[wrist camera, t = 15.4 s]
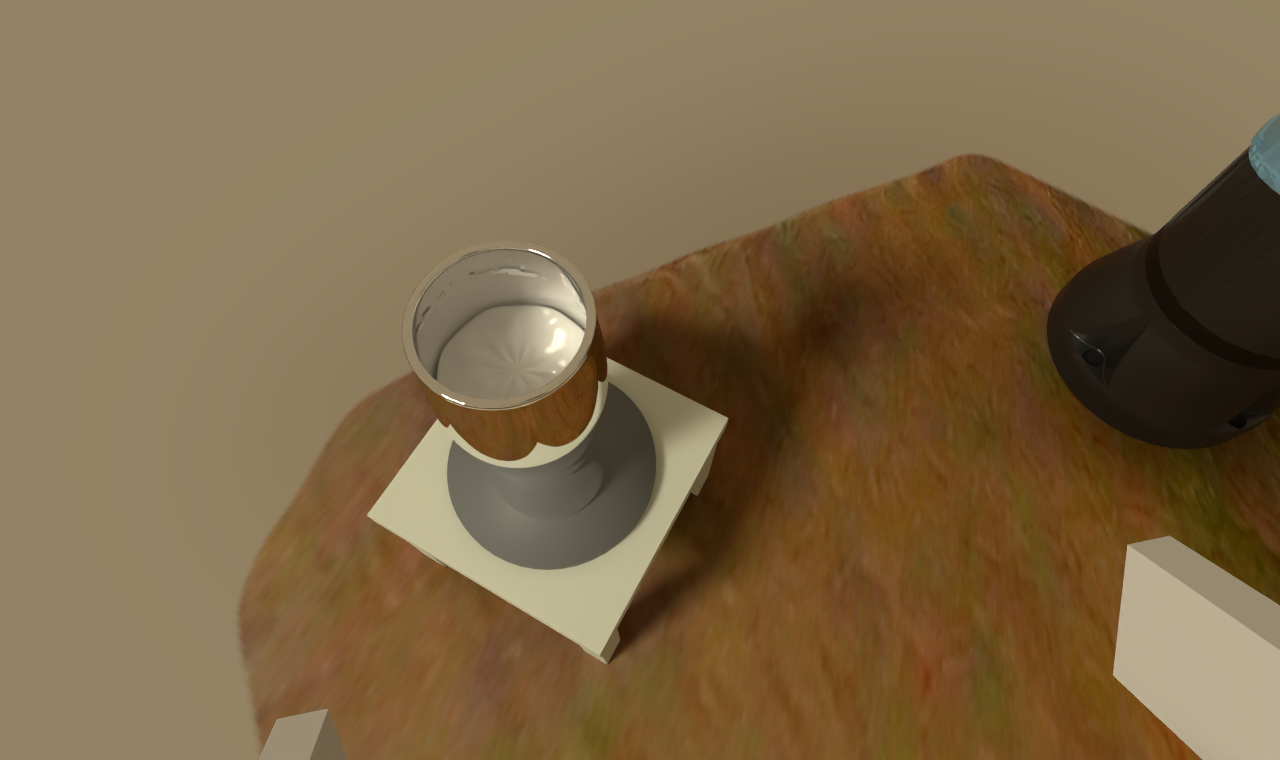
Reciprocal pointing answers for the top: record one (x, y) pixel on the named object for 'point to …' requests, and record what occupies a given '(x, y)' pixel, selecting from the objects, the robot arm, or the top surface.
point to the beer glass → (515, 370)
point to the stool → (569, 546)
